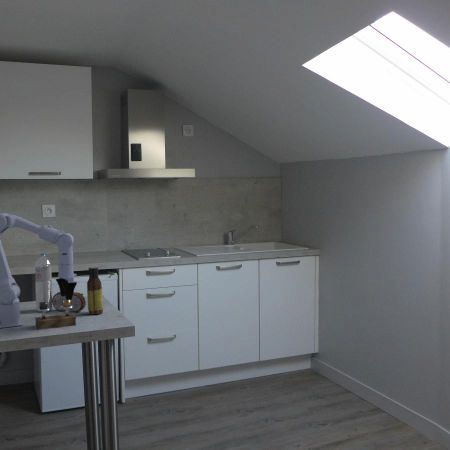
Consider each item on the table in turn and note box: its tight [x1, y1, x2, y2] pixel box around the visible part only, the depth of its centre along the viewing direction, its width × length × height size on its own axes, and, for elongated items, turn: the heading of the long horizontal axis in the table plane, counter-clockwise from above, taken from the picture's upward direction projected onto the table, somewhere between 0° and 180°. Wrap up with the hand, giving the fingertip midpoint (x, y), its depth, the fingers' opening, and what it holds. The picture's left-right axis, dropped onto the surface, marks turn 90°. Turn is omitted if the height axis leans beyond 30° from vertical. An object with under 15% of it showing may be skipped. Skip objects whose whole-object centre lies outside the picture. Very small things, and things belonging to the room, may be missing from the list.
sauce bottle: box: [86, 266, 104, 315], centre depth 256 cm, size 7×6×20 cm
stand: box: [34, 312, 77, 330], centre depth 237 cm, size 14×7×3 cm, turn 119°
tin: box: [52, 291, 86, 313], centre depth 260 cm, size 15×3×8 cm, turn 74°
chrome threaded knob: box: [36, 302, 51, 319], centre depth 234 cm, size 5×5×6 cm
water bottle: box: [34, 252, 53, 313], centre depth 260 cm, size 7×7×25 cm
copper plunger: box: [60, 299, 73, 316], centre depth 238 cm, size 5×5×6 cm
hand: (66, 297), depth 238 cm, fingers open, 7 cm apart
